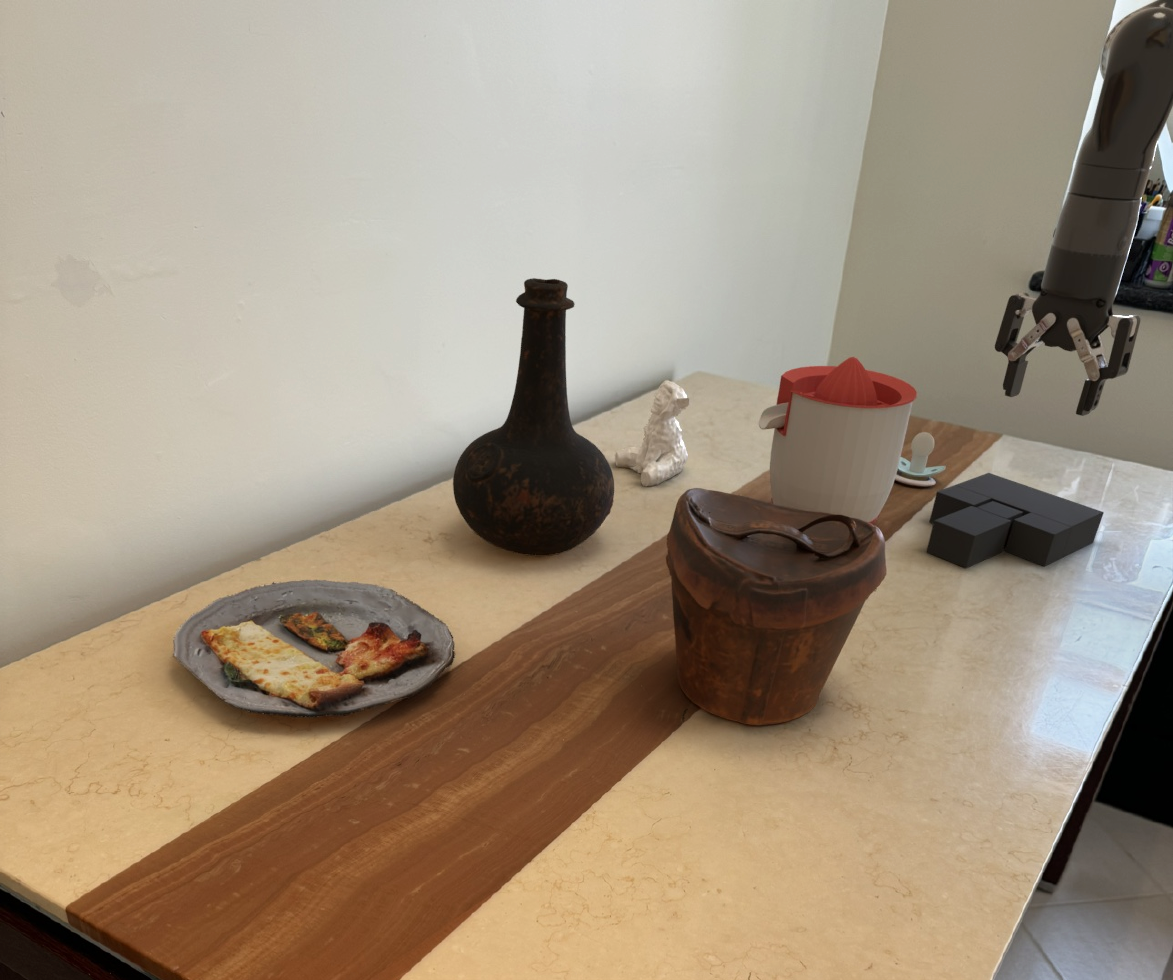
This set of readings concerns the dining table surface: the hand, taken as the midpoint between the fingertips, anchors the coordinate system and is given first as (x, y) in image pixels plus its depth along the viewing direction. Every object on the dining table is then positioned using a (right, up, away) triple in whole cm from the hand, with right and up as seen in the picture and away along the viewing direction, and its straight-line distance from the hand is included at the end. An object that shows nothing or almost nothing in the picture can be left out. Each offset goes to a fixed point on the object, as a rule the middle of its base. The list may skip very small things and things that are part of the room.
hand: (1046, 404), depth 122 cm
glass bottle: (-57, -14, +5) cm, 59 cm away
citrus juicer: (-23, -10, +14) cm, 29 cm away
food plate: (-76, -31, -20) cm, 84 cm away
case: (-36, -34, -20) cm, 53 cm away
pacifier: (-6, -1, +29) cm, 29 cm away
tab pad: (-4, -14, +11) cm, 18 cm away
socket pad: (+2, -11, +15) cm, 19 cm away
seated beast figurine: (-42, 0, +26) cm, 49 cm away
